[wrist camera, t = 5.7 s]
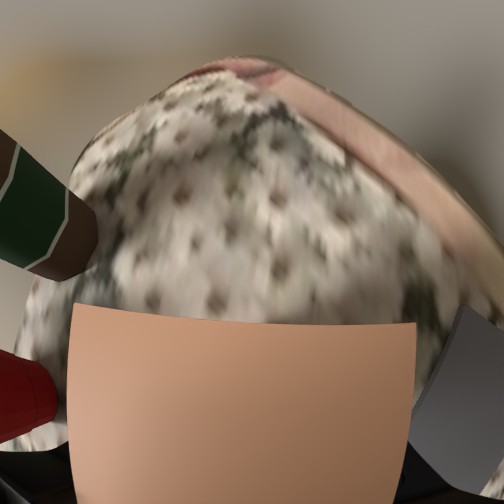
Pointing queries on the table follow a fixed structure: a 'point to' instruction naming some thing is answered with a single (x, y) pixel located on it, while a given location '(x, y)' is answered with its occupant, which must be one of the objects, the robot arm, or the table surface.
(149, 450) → the block
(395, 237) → the table surface
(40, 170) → the beer bottle
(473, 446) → the mat
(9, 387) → the plastic cup
